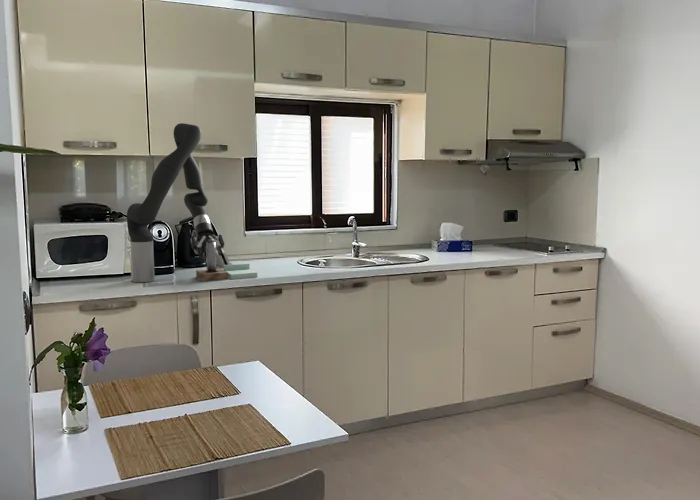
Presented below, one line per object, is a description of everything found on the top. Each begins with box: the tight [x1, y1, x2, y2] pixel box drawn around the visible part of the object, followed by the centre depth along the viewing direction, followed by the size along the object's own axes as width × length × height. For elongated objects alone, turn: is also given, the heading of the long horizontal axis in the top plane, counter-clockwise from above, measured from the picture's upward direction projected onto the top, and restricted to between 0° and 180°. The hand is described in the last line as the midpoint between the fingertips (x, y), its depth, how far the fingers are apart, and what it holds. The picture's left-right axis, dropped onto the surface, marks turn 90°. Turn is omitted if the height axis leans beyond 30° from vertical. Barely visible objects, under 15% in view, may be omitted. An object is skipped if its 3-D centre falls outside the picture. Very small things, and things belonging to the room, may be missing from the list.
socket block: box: [195, 268, 229, 282], centre depth 279 cm, size 11×11×3 cm
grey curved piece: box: [216, 248, 233, 268], centre depth 314 cm, size 17×5×10 cm, turn 26°
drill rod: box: [205, 239, 217, 273], centre depth 278 cm, size 4×4×17 cm
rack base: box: [222, 262, 258, 280], centre depth 285 cm, size 12×12×4 cm
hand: (210, 255), depth 278 cm, fingers open, 8 cm apart
